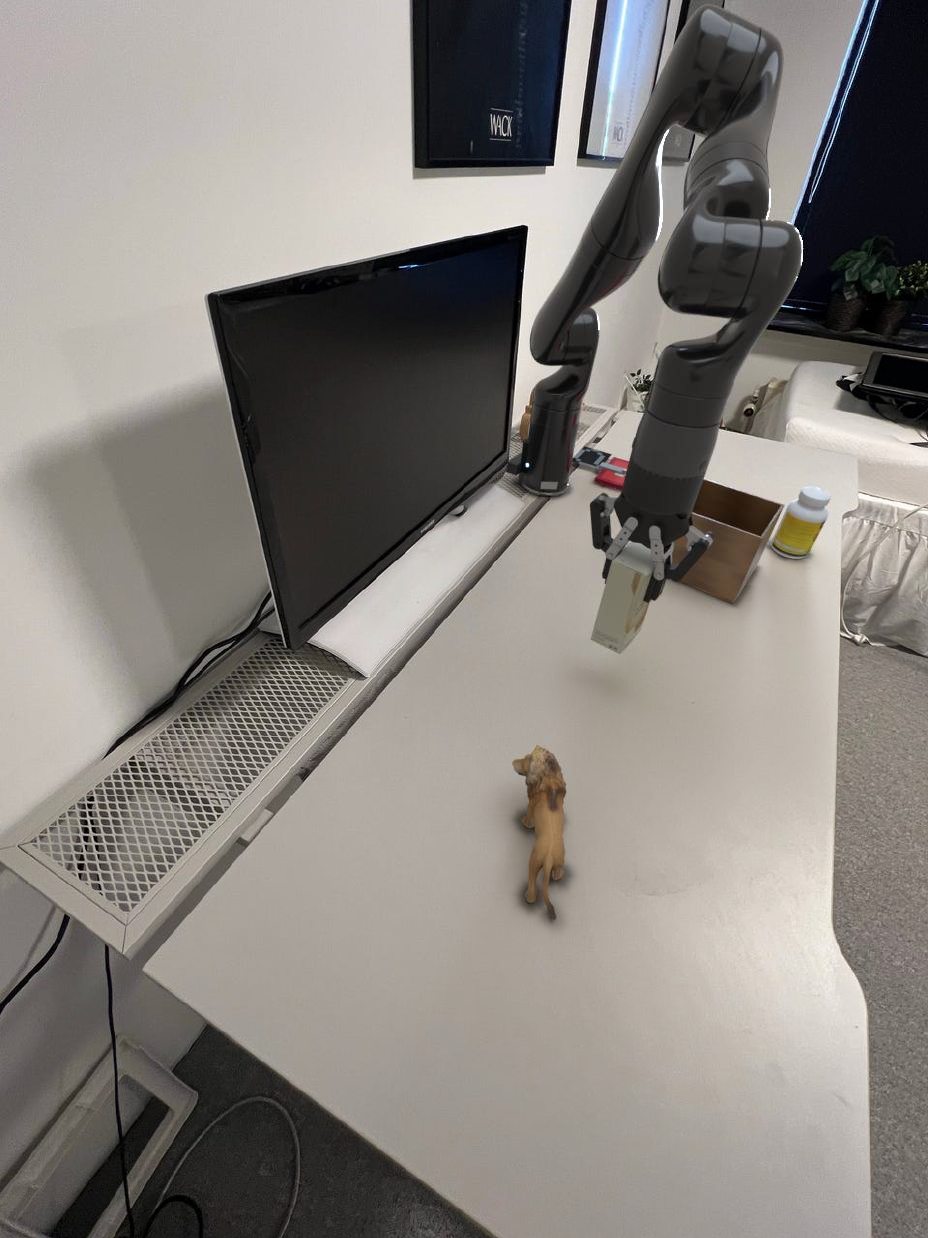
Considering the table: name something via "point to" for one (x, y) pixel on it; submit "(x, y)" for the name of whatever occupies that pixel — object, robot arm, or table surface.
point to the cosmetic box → (624, 598)
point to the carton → (728, 538)
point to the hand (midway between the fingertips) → (629, 589)
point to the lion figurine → (544, 819)
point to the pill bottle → (801, 523)
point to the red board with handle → (603, 466)
